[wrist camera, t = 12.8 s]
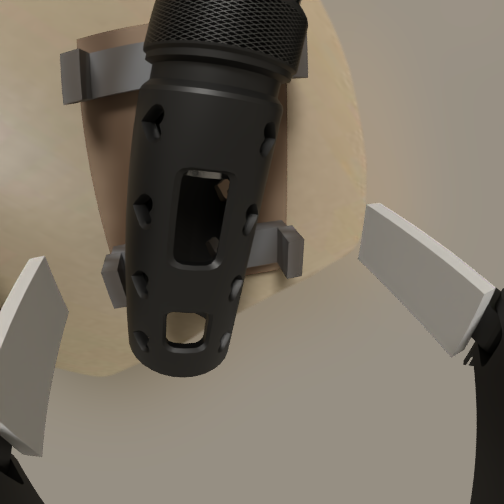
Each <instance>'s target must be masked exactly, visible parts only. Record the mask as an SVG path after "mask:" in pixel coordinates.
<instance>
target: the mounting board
mask: <svg viewBox="0 0 504 504" xmlns="http://www.w3.org/2000/svg"><path fill="white" fill-rule="evenodd" d="M148 25H149V24H143V25H137V26H132V27H126V28H121V29H116V30H112V31H107V32H103V33H99V34H95V35H91V36H88V37H84V38H80V39H77V49H75V50H72V51H69V52H65V53H62V54H60V64H61V81H62V94H63V104H64V105H67V104H74V103H79V102H81V111H82V120H83V127H84V134H85V141H86V148H87V154H88V159H89V165H90V170H91V176H92V181H93V185H94V190H95V195H96V199H97V204H98V208H99V212H100V216H101V220H102V224H103V228H104V232H105V236H106V239H107V243H108V247H109V250H110V254H108V255H106V258H105V261H104V264H103V268H102V271H101V274H102V277H103V279H104V282H105V285H106V288H107V291H108V293H109V296H110V299H111V301H112V304H113V307H114V308H121V307H127V303H126V274H125V234H126V205H127V188H128V175H129V163H130V153H131V144H132V136H133V128H134V120H135V114H136V107H137V101H138V95H139V89H140V87H141V86H142V84H144V83H145V82H146V81H148V80H149V79H150V74H151V68H152V64H150V63H149V62H147V61H146V60H145V56H146V53H145V52H144V51H143V46H144V41H145V37H146V33H147V29H148ZM294 78H308V56H307V33H306V37H305V41H304V45H303V50H302V54H301V58H300V63H299V67H298V71H297V73H296V74H295V75H294V76H292V78H291V79H294ZM278 100H279V101H280V103H281V104H282V106H283V114H282V118H281V122H280V127H279V131H278V135H277V140H276V144H275V148H274V153H273V157H272V161H271V166H270V170H269V174H268V178H267V183H266V187H265V191H264V196H263V200H262V204H261V209H260V213H259V217H258V222H257V226H256V230H255V235H254V239H253V243H252V248H251V252H250V256H249V261H248V265H247V269H246V274H245V275H251V274H257V273H262V272H268V271H273V270H278V269H281V270H282V271H283V273H284V274H285V276H286V278H287V279H289V278H294V277H299V276H302V265H303V250H304V239H303V237H302V236H301V235H300V234H299V233H298V232H297V231H296V229H295V228H294V227H293V226H292V225H291V226H287V225H286V216H287V83H285V84H281V86H280V90H279V94H278ZM229 183H230V182H229V180H228V179H225V180H223V181H222V182H221V183H220V184H218V187H219V188H220V190H221V192H222V194H223V196H224V197H225V198H226V199H227V190H228V189H229ZM209 242H210V244H211V245H212V247H213V249H214V251H215V252H216V253H217V248H218V243H219V240H218V239H217V238H216V237H213V238H212V239H211V240H209Z"/></svg>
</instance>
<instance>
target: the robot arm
mask: <svg viewBox="0 0 504 504" xmlns="http://www.w3.org/2000/svg"><path fill="white" fill-rule="evenodd" d="M358 259H359V261H361V262H362V263H363V264H364V265H365V266H366V267H367V268H368V269H369V270H370V271H371V272H372V273H373V274H374V275H375V276H376V277H377V278H378V279H379V280H380V281H381V282H382V283H383V284H384V285H385V286H386V287H387V288H388V289H389V290H390V291H391V292H392V293H393V294H394V296H395V297H397V299H398V300H399V301H400V302H401V303H402V304H403V305H404V306H405V307H406V308H407V309H408V310H409V311H410V312H411V313H412V314H413V315H414V317H416V319H417V320H418V321H419V322H420V323H421V324H422V325H423V326H424V327H425V328H426V329H427V331H428V332H429V333H430V334H431V335H432V336H433V337H434V338H435V339H436V341H437V342H438V343H439V344H440V345H441V346H442V347H443V348H444V350H446V352H447V353H448V354H449V355H450V356H451V357H453V356H455V355H456V354H458V353H459V352H461V351H463V350H464V349H465V347H466V345H467V344H468V342H469V340H470V338H471V337H472V338H473V339H474V340H475V343H474V345H473V346H472V348H471V350H470V351H469V353H468V355H467V356H466V358H465V359H464V365H466V364H467V362H468V361H469V359H470V358H471V357H473V359H472V360H471V362H470V364H469V365H470V366H474V372H475V385H476V406H477V438H476V440H477V441H476V458H475V471H474V480H473V488H472V496H471V502H470V504H504V288H503V289H502V291H500V290H498V289H497V288H496V287H495V286H494V285H492V284H491V283H490V282H489V281H488V280H486V279H485V278H484V277H483V276H481V275H480V274H479V273H478V272H477V271H475V270H474V269H473V268H471V267H470V266H469V265H468V264H466V263H465V262H464V261H463V260H461V259H460V258H459V257H458V256H456V255H454V254H453V253H452V252H451V251H449V250H448V249H447V248H445V247H444V246H443V245H441V244H440V243H439V242H437V241H436V240H434V239H433V238H432V237H430V236H429V235H427V234H426V233H424V232H423V231H421V230H420V229H419V228H417V227H416V226H414V225H413V224H411V223H410V222H408V221H407V220H405V219H404V218H402V217H401V216H399V215H398V214H396V213H395V212H393V211H392V210H390V209H389V208H387V207H386V206H384V205H382V204H381V203H375V204H367V205H366V211H365V219H364V226H363V233H362V239H361V245H360V251H359V257H358ZM68 313H69V311H68V309H67V307H66V305H65V303H64V300H63V298H62V296H61V294H60V292H59V289H58V287H57V285H56V282H55V280H54V278H53V275H52V273H51V270H50V268H49V265H48V263H47V260H46V257H45V256H41V257H36V258H31V259H29V261H28V262H27V264H26V266H25V267H24V269H23V271H22V272H21V274H20V276H19V277H18V279H17V281H16V283H15V284H14V286H13V288H12V290H11V292H10V294H9V295H8V297H7V299H6V301H5V303H4V305H3V307H2V309H1V311H0V504H44V502H43V501H42V499H41V498H40V497H39V495H38V494H37V492H36V490H35V489H34V487H33V486H32V484H31V483H30V481H29V479H28V478H27V476H26V474H25V473H24V471H23V469H22V468H21V466H20V464H19V462H18V461H17V459H16V458H15V457H14V455H12V454H11V449H12V446H13V447H14V448H15V449H17V450H18V451H19V452H21V453H22V454H24V455H30V456H39V457H42V450H43V439H44V430H45V422H46V414H47V407H48V400H49V394H50V389H51V383H52V378H53V373H54V368H55V364H56V359H57V355H58V350H59V346H60V342H61V338H62V334H63V331H64V327H65V323H66V320H67V316H68Z"/></svg>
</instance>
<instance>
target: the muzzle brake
mask: <svg viewBox="0 0 504 504" xmlns="http://www.w3.org/2000/svg"><path fill="white" fill-rule="evenodd" d="M300 4H301V0H156V1H155V4H154V8H153V11H152V14H151V18H150V22H149V25H148V29H147V33H146V37H145V41H144V46H143V51H144V52H145V53H146V56H145V60H146V61H147V62H149V63H150V64H152V68H151V74H150V79H149V80H148V81H146V82H145V83H144V84H142V86H141V87H140V89H139V95H138V101H137V107H136V114H135V120H134V128H133V136H132V144H131V153H130V163H129V175H128V188H127V205H126V234H125V274H126V303H127V320H128V333H129V344H130V347H131V350H132V352H133V353H134V355H135V356H136V358H137V359H138V360H139V361H140V362H141V363H142V364H144V365H145V366H147V367H148V368H150V369H151V370H153V371H156V372H158V373H160V374H164V375H168V376H172V377H193V376H198V375H201V374H205V373H207V372H209V371H211V370H213V369H214V368H216V367H217V366H218V365H219V364H220V363H221V362H222V361H223V360H224V358H225V356H226V354H227V351H228V347H229V343H230V339H231V334H232V330H233V326H234V321H235V317H236V313H237V308H238V304H239V300H240V295H241V291H242V287H243V282H244V278H245V274H246V269H247V265H248V261H249V256H250V252H251V248H252V243H253V239H254V235H255V230H256V226H257V222H258V217H259V213H260V209H261V204H262V200H263V196H264V191H265V187H266V183H267V178H268V174H269V170H270V166H271V161H272V157H273V153H274V148H275V144H276V140H277V135H278V131H279V127H280V122H281V118H282V114H283V106H282V104H281V103H280V101H279V100H278V94H279V90H280V86H281V84H285V83H289V82H290V81H291V78H292V76H294V75H295V74H296V73H297V71H298V67H299V63H300V58H301V54H302V50H303V45H304V41H305V37H306V33H307V28H308V21H307V17H306V15H305V13H304V11H303V9H302V8H301V6H300ZM225 179H228V180H229V182H230V183H229V189H228V190H227V199H226V198H225V197H224V196H223V194H222V192H221V190H220V188H219V187H218V184H220V183H221V182H222V181H223V180H225ZM213 237H216V238H217V239H218V240H219V243H218V248H217V253H216V252H215V251H214V249H213V247H212V245H211V244H210V242H209V240H211V239H212V238H213ZM170 312H184V313H196V314H198V315H200V316H202V317H204V318H205V319H206V323H205V330H204V335H203V338H202V339H201V340H200V341H198V342H196V343H189V344H181V343H173V342H170V341H169V340H168V339H167V338H166V317H167V314H168V313H170ZM148 338H149V339H148Z"/></svg>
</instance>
